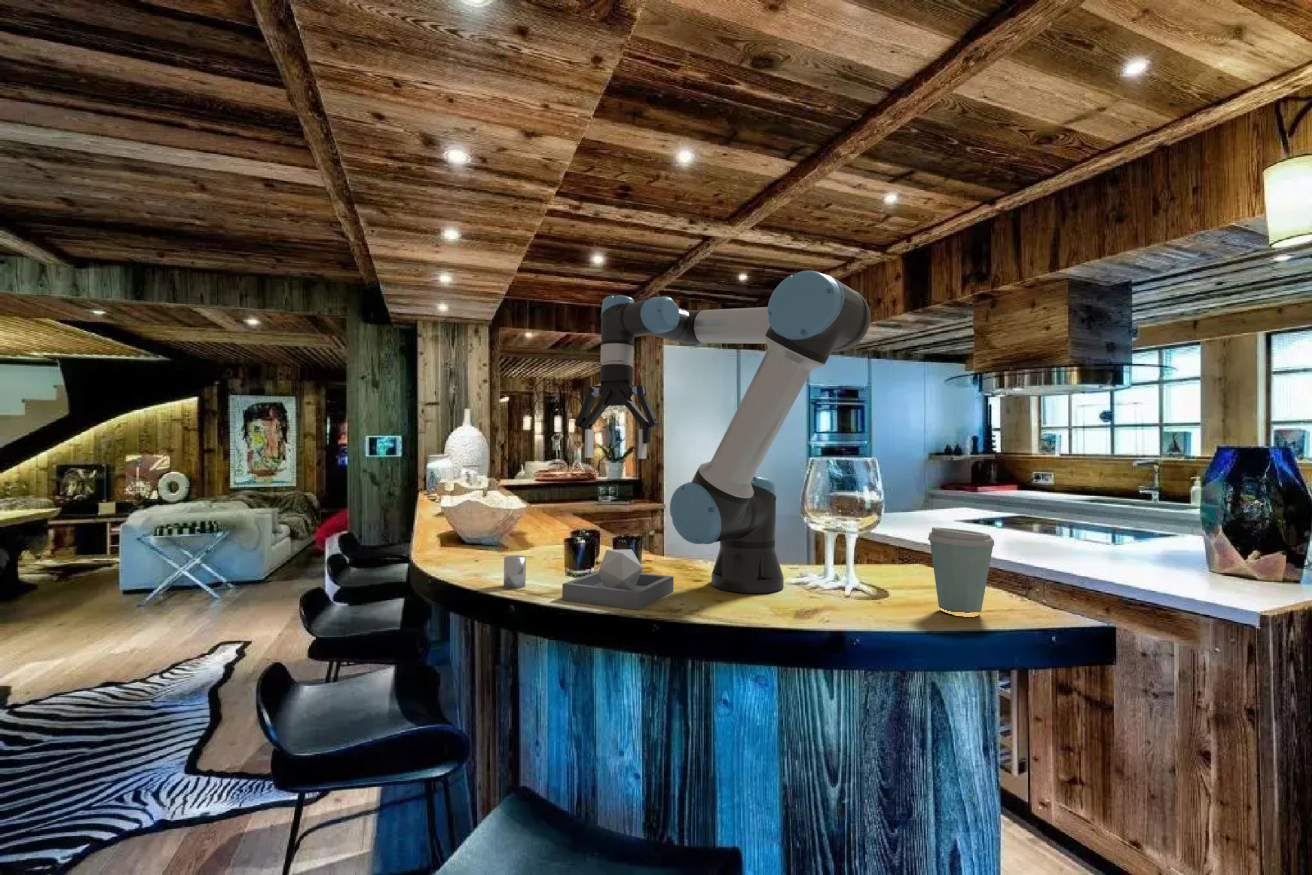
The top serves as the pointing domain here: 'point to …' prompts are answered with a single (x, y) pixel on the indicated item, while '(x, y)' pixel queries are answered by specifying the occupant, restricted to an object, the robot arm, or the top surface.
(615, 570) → the die
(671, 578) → the slate tray
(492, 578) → the top surface
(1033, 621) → the top surface
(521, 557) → the steel jigger
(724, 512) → the robot arm
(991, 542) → the disposable coffee cup
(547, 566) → the top surface
